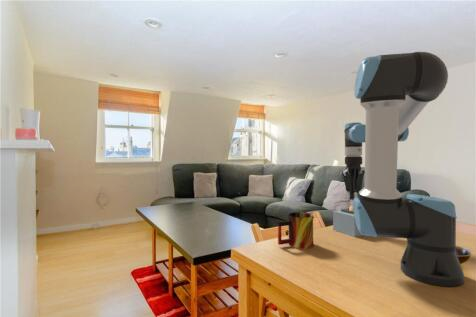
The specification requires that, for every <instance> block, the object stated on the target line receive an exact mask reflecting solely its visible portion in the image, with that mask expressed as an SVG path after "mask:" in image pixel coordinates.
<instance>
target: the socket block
mask: <svg viewBox="0 0 476 317" xmlns="http://www.w3.org/2000/svg"><path fill="white" fill-rule="evenodd" d="M332 223H333V224H332V225H333V226H332V227H333V228H332V230H333V231H334V230H336V231H335V232H338V231H339V232H338V233H341V234H343V235H348V236H350V237H353V238H355V237H361V236H363V235H362V234H361V233H360V232H359V230H358V228H357V225H356V221H355V216H354V211H350V210H349V207H348V208H346V207H345V208H341V209H339V210H333V211H332Z"/></svg>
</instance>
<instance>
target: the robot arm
mask: <svg viewBox="0 0 476 317" xmlns="http://www.w3.org/2000/svg"><path fill="white" fill-rule="evenodd" d="M448 79H449V72H448V68H447V66H446V64H445V62H444V61H443V60H442V58H440V57H439V56H437V55H436V54H434V53H431V52H428V51H415V52H403V53H391V54H379V55H374V56H367V57H365V58H364V59H362V61H361V62H360V63H359V67H358V69H357V72H356V77H355V82H354V90H353V92H354V94H353V95H354V97H355V99H358V100H360V103H359V104H360V106H362V107H363V109H364V110H365V124H364V123H361V122H359V121H358V122H349V123H345V124H344V130H343V132H344V156H345V157H344V165H346V167H345V170H343V171H341V174H342V176H343V180H344V181H343V182H344V187H345V191H346V192H347V193H349V200H350V202H349V207H350V206H352V207H353V210H354V216H355V221H356V225H357V228H358V230H359V232H360V233H361V234H362V235H361V236H366V237H374V238H389V239H390V238H392V239H395V238H396V239H406V248H405V249H404V251H403V254H402V256H401V260H400V270H401V272H402V273H403V274H404V275H405V276H408V277H409V278H411V279H414V280H416V281H419V282H421V283H426V284H428V285H429V284H430V285H433V286H434V285H435V286H440V287H459V286H461V285H463V284H464V283H465V273H464V270H463V268H462V265H461V262H460V260H459V257H458V255H457V249H456V248H457V247H456V246H457V244H456V243H457V239H456V238H457V221H456V220H457V219H458V218H457V213H456V212H457V211H456V206H455V204H454V203H453V202H452V201H451V200H448V199H443V198H441V197H440V198H439V197H436V196H431V195H423V194H422V195H421V194H415V193H408V194H407V195H406V196H405V199H404V198H403V194H402V193H401V192H400V191H399V190H398V189H397V184H398V183H397V181H398V178H397V177H398V174H397V173H398V147H399V146H398V144H399V142H405V141H406V140H408V136H410V135H409V133H410V130H409V127H410V125H411V124H412V123H413V122H414V121H415V120H416V118H417V117H418V116H419V114H420V113H421V112H422V111H423V110H424V108H425V107H426V106H427V105H428V104H429V103H430V102H433V101H435V100H436V99H437V98H439V97H440V95H441V94H442V93H443V92H444V90H445V88H446V87H447V84H448ZM363 143H364V144H365V145H364V169H362V167H361V165H363ZM363 181H364V187H363Z"/></svg>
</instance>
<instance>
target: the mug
mask: <svg viewBox="0 0 476 317" xmlns="http://www.w3.org/2000/svg"><path fill="white" fill-rule="evenodd" d="M285 226H287V227H288V238H285V239H282V227H285ZM277 228H278V229H277V245H279V246H280V245H287V244H288V246H290V247H291V246H292V248H294V247H295V248H294V249H300V250H301V249H302V250H307V249H311V248H313V247H314V215H313V214H311V213H309V212H304V211H303V212H302V211H301V212H299V211H297V212H290V213H288V219H287V220H284V221H278V222H277Z"/></svg>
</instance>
